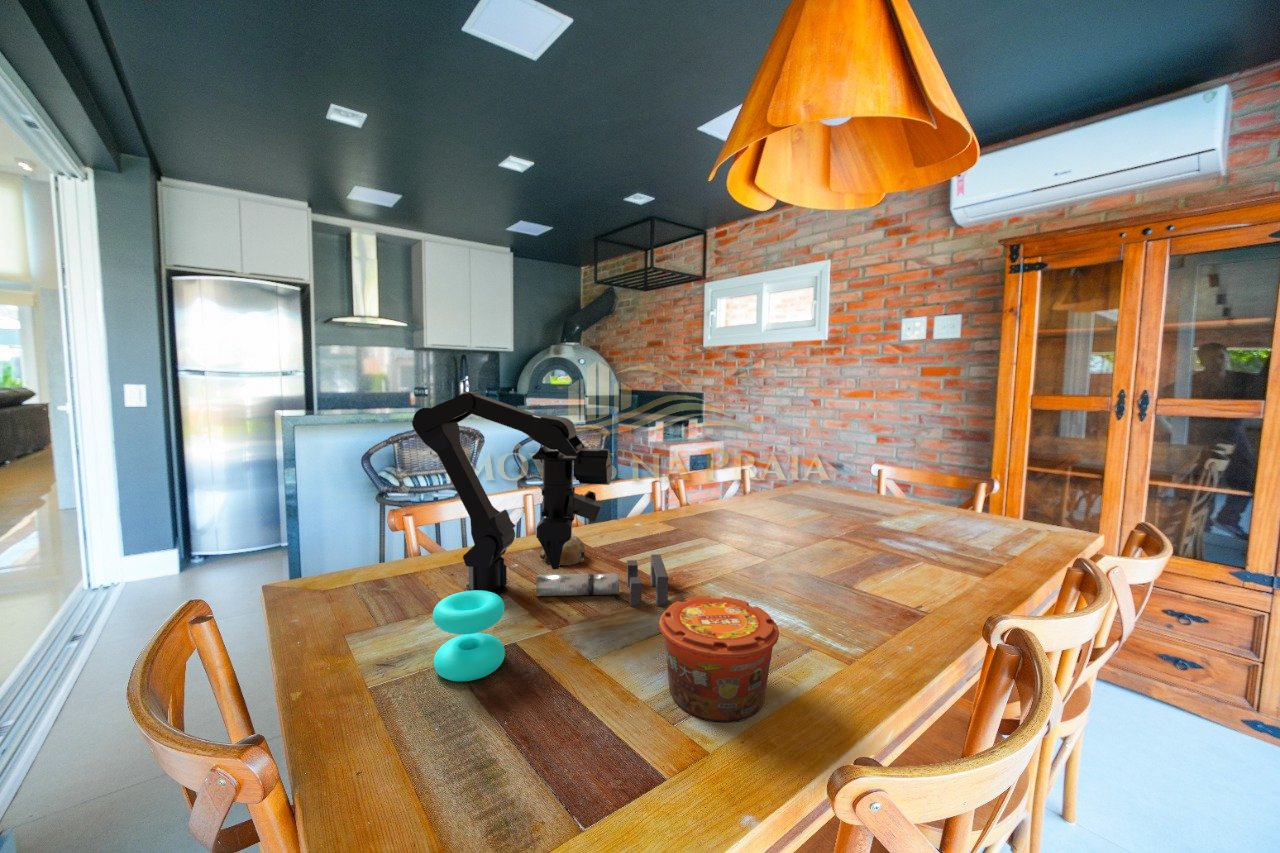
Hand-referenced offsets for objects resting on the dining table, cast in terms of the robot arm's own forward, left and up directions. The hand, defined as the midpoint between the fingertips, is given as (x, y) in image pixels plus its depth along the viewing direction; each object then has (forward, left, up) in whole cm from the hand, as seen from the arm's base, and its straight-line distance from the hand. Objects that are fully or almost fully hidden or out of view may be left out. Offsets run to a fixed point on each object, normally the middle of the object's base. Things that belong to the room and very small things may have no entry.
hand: (557, 560), depth 102 cm
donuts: (-22, -16, -7) cm, 28 cm away
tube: (+4, -2, -7) cm, 8 cm away
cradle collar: (+13, -8, -7) cm, 17 cm away
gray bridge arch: (+17, -10, -7) cm, 21 cm away
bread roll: (+10, +18, -7) cm, 22 cm away
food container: (+4, -41, -7) cm, 42 cm away
